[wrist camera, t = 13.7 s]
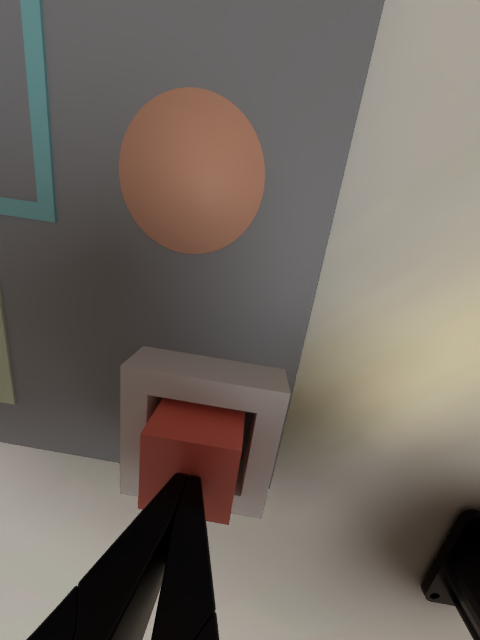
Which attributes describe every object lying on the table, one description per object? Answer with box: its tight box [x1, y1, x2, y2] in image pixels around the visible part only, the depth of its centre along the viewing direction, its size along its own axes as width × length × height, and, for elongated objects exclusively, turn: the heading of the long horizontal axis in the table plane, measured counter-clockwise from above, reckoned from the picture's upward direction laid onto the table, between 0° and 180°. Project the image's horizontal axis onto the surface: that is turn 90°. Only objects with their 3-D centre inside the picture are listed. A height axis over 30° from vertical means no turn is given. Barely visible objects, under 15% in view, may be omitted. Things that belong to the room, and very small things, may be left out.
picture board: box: [0, 0, 385, 518], centre depth 9 cm, size 22×20×3 cm
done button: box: [138, 398, 245, 525], centre depth 9 cm, size 3×3×2 cm
